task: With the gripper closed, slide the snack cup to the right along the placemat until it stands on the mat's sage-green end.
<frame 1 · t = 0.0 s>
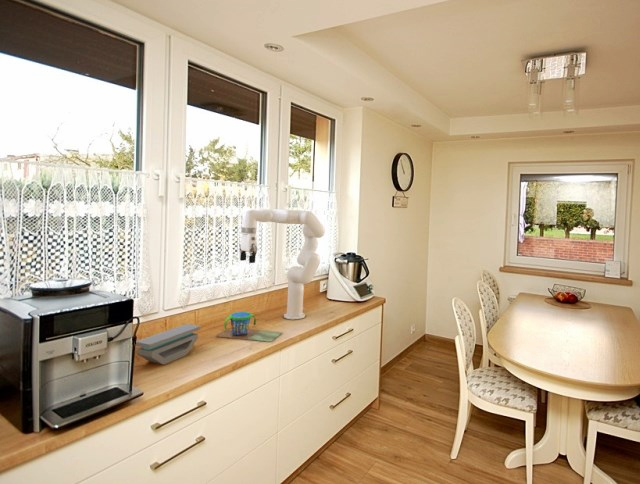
hand: (247, 261, 199), 37 cm above the counter, tool pointing down, fingers open, 9 cm apart
sharpening stone: (168, 358, 158), on the counter
placemat: (248, 335, 190), on the counter
snack cup: (239, 333, 190), resting on placemat
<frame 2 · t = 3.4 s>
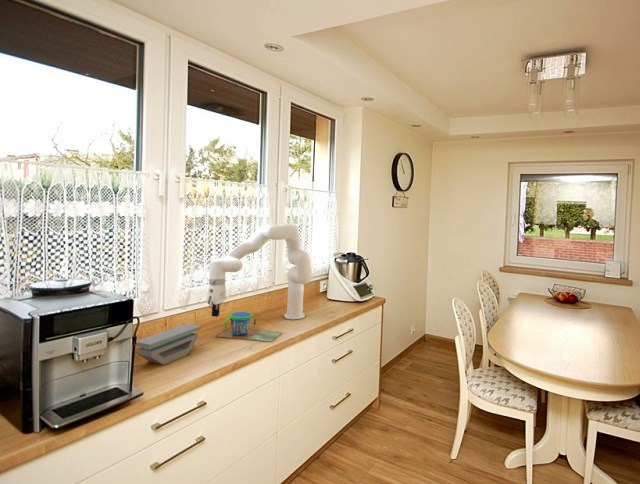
hand: (215, 315, 191), 9 cm above the counter, tool pointing down, fingers closed
nothing on the counter moved.
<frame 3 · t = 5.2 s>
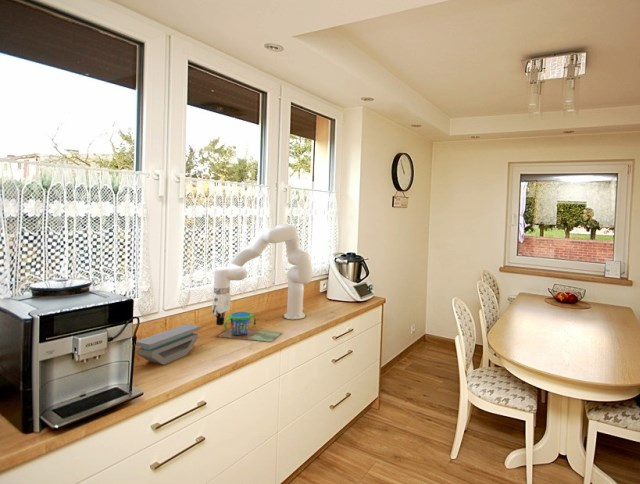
hand: (220, 324, 191), 4 cm above the counter, tool pointing down, fingers closed
nothing on the counter moved.
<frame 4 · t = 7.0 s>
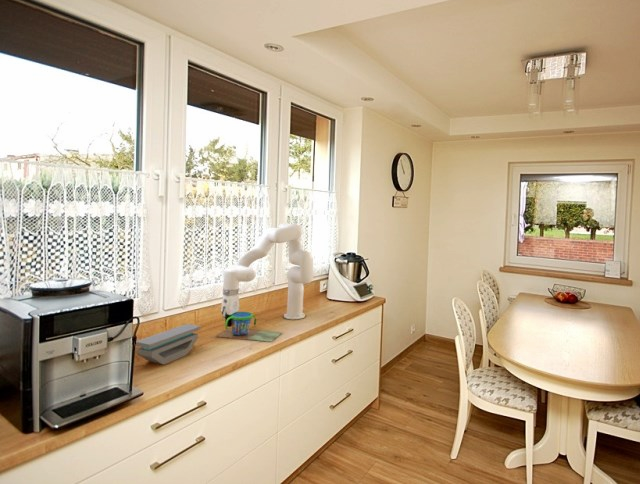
hand: (228, 326, 190), 4 cm above the counter, tool pointing down, fingers closed
snack cup: (240, 333, 190), resting on placemat, touching gripper
everything else where it was.
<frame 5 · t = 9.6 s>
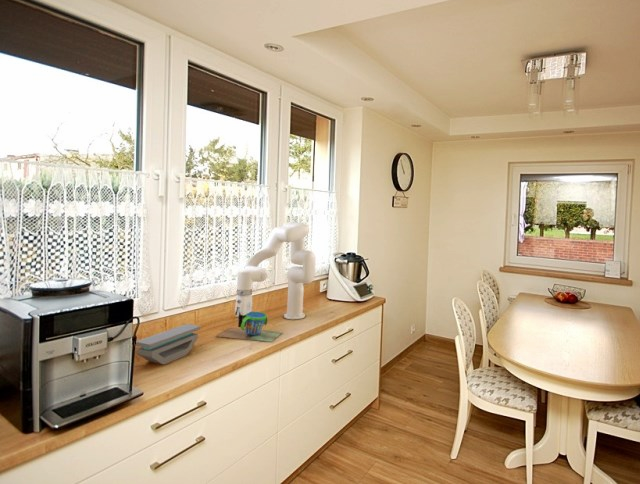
hand: (241, 326, 189), 4 cm above the counter, tool pointing down, fingers closed
snack cup: (252, 333, 190), point 1 cm above the counter, touching gripper, placemat
everything else where it was.
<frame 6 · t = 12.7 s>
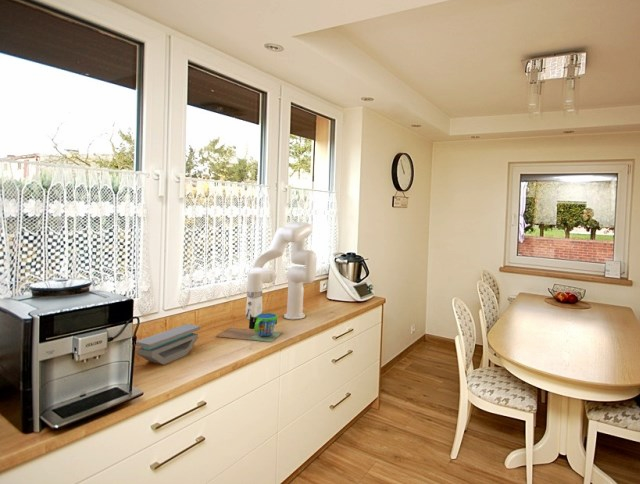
hand: (252, 328, 190), 4 cm above the counter, tool pointing down, fingers closed
snack cup: (265, 334, 191), resting on placemat, touching gripper
everything else where it was.
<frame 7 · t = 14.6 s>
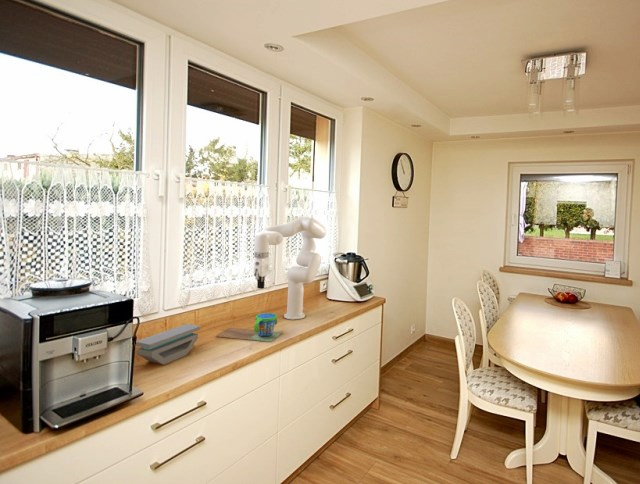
hand: (260, 288, 197), 23 cm above the counter, tool pointing down, fingers closed
snack cup: (265, 334, 191), resting on placemat
everything else where it was.
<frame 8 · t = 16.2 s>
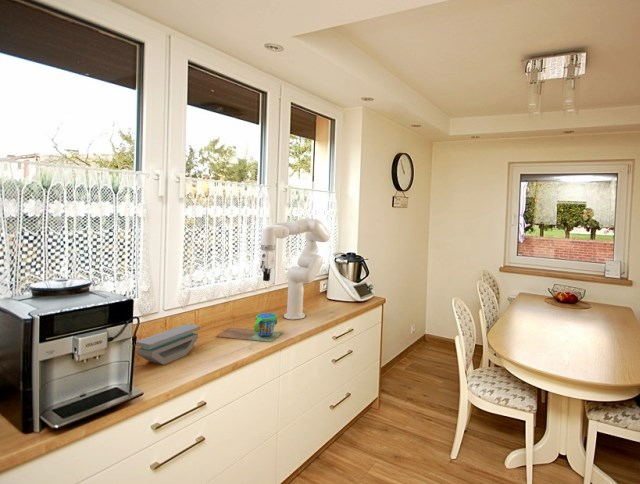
hand: (266, 280, 200), 27 cm above the counter, tool pointing down, fingers closed
nothing on the counter moved.
at the end: snack cup inside the target area (1.9 cm from its centre), resting on placemat; snack cup tilted 0°; snack cup moved 13.4 cm from its start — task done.
